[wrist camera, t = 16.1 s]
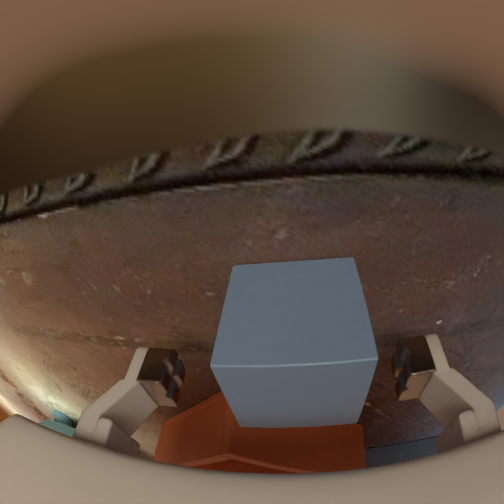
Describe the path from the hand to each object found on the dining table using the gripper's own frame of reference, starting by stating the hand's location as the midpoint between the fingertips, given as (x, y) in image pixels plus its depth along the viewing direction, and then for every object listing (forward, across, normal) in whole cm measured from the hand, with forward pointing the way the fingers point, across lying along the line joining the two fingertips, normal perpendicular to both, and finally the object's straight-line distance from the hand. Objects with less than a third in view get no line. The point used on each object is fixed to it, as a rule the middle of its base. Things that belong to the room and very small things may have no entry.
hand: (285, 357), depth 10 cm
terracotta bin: (+3, +3, +14) cm, 15 cm away
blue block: (+2, 0, 0) cm, 3 cm away
